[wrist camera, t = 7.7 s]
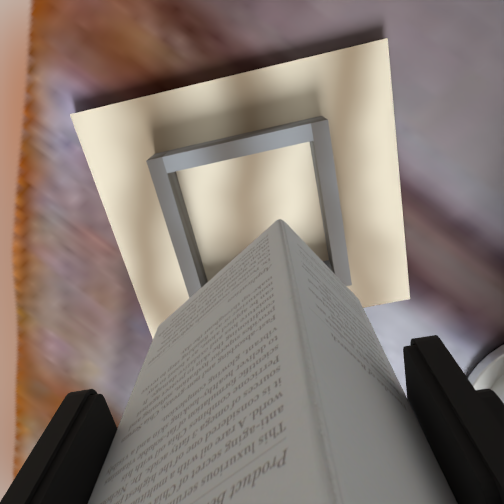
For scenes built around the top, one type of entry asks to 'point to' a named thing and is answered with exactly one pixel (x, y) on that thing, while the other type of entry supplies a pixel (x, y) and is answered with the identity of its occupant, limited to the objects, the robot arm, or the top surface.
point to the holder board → (255, 175)
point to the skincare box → (269, 397)
